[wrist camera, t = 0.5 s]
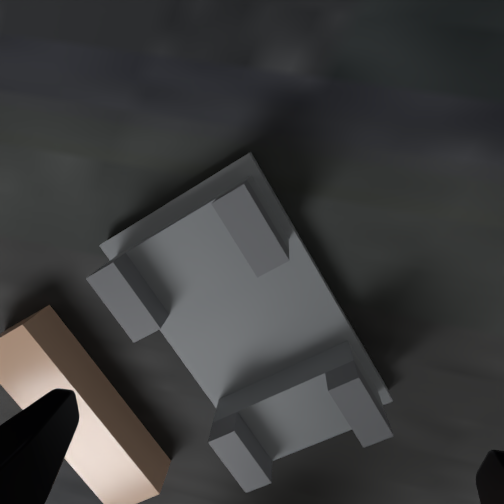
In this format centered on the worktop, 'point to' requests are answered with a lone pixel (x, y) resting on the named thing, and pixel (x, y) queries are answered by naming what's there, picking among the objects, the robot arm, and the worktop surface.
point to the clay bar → (83, 409)
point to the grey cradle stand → (245, 321)
